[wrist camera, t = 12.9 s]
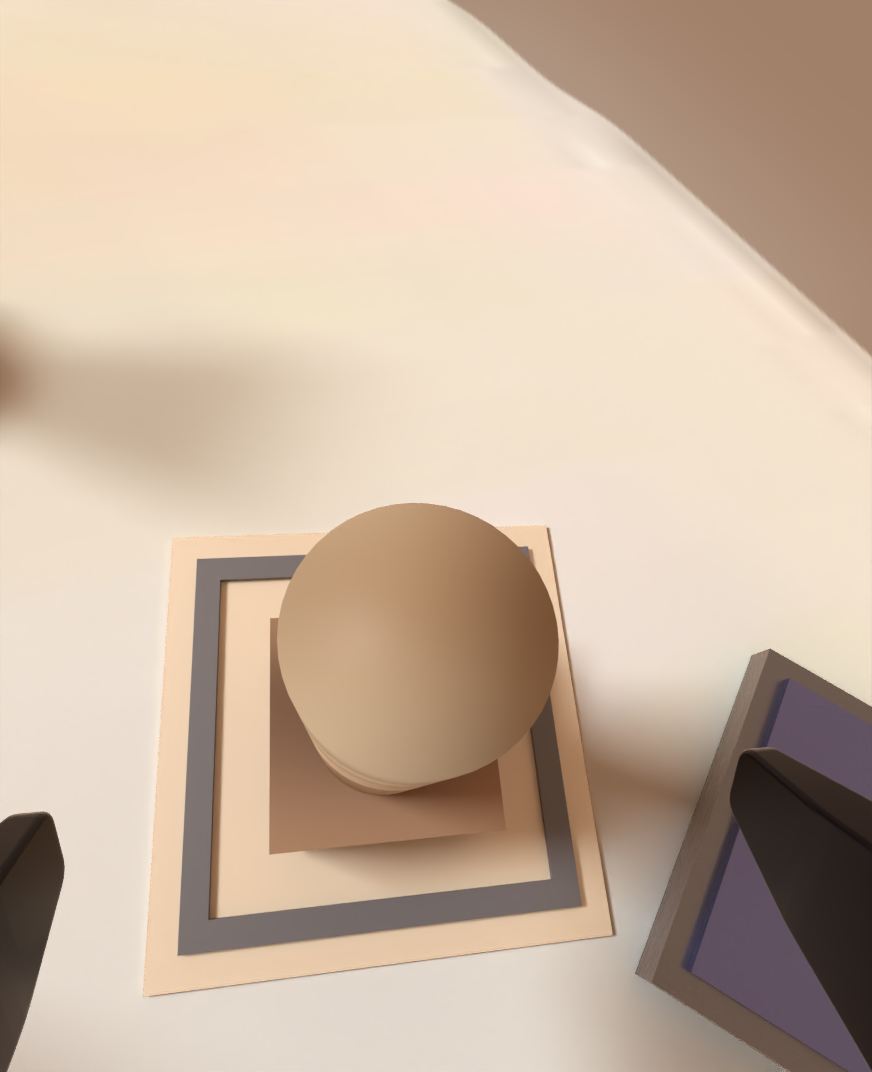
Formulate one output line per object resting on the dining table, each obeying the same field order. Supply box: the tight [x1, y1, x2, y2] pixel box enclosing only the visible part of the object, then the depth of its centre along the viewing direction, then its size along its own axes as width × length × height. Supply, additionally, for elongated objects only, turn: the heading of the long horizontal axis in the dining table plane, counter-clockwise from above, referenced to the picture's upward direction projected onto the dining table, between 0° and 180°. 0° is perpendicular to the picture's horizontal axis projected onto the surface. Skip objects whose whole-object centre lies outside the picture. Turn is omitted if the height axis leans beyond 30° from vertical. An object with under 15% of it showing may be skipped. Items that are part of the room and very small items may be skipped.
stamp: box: [269, 503, 559, 855], centre depth 13 cm, size 5×5×12 cm
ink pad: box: [635, 649, 872, 1072], centre depth 19 cm, size 10×8×1 cm
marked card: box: [143, 525, 613, 997], centre depth 19 cm, size 12×12×1 cm
